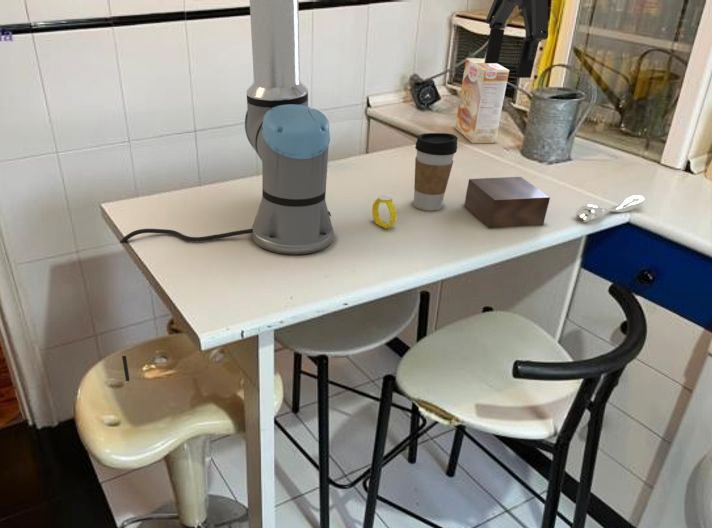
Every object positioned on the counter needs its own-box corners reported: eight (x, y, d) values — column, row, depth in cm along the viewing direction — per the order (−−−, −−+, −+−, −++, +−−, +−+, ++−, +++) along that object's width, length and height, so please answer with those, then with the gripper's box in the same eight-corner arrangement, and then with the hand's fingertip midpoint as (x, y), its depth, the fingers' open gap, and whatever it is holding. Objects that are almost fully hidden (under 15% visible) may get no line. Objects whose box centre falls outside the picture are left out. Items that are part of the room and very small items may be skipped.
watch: (397, 230, 129) (401, 201, 126) (386, 232, 128) (389, 204, 125) (379, 219, 133) (382, 191, 130) (368, 221, 132) (370, 193, 129)
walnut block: (488, 228, 131) (494, 200, 128) (464, 205, 141) (468, 178, 138) (543, 225, 133) (550, 197, 130) (515, 202, 143) (520, 176, 140)
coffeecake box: (453, 127, 192) (465, 57, 182) (477, 127, 193) (489, 58, 183) (471, 143, 180) (484, 69, 169) (496, 143, 180) (510, 69, 170)
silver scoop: (634, 184, 144) (654, 191, 141) (630, 199, 146) (649, 206, 143) (572, 205, 136) (592, 213, 132) (569, 221, 138) (588, 229, 134)
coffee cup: (447, 215, 136) (459, 144, 128) (406, 210, 138) (415, 140, 130) (447, 200, 143) (458, 132, 135) (408, 196, 145) (417, 128, 137)
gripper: (588, -47, 110) (556, 84, 122) (516, -54, 131) (495, 57, 142) (548, -48, 109) (519, 84, 120) (482, -56, 130) (463, 57, 141)
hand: (506, 70), depth 131 cm, fingers open, 13 cm apart
